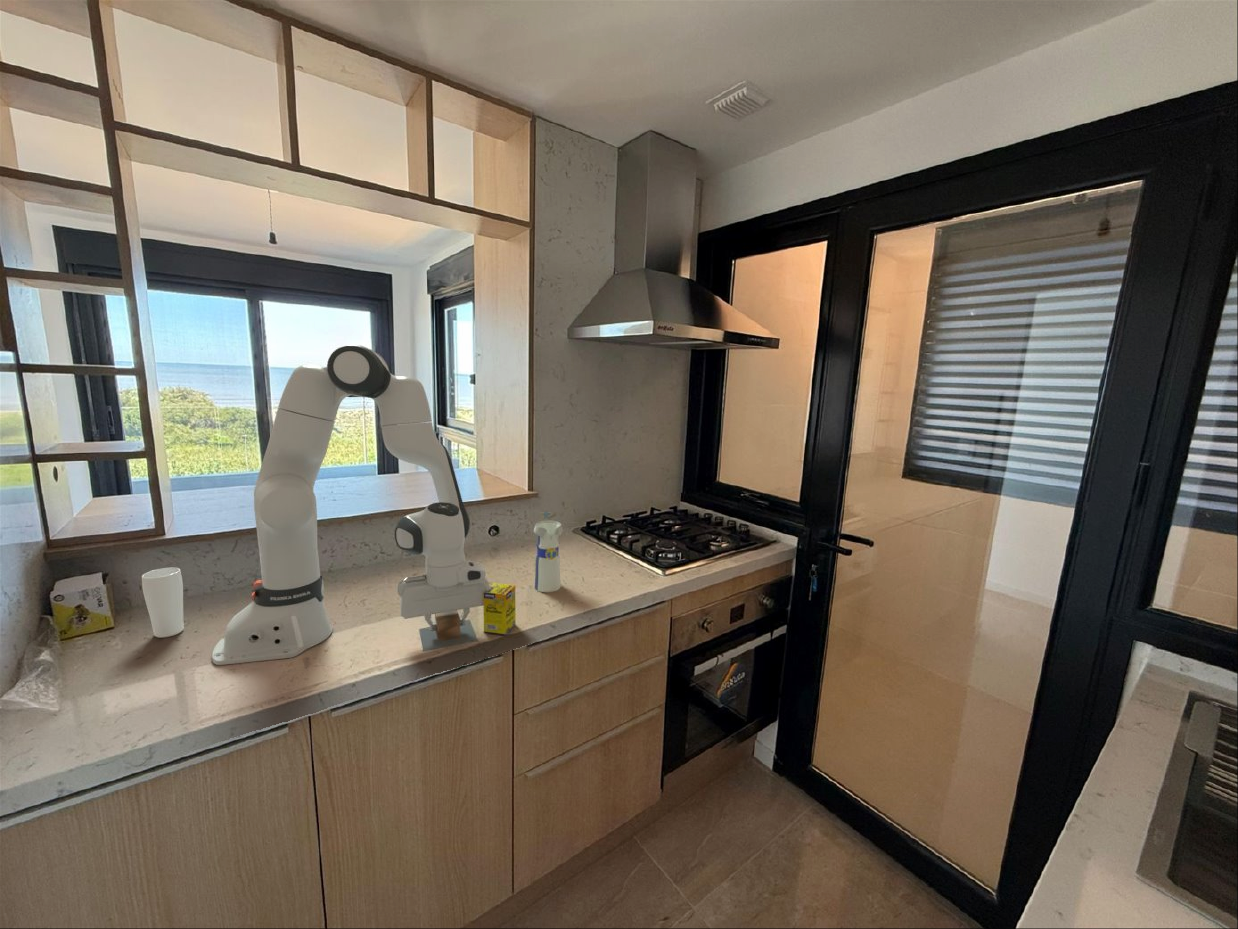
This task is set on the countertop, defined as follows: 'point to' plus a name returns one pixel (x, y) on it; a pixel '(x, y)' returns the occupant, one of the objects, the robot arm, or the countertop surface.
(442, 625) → the walnut cube
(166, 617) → the drinking glass
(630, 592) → the countertop surface
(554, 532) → the white and blue cylinder
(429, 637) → the mat
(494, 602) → the supplement box
